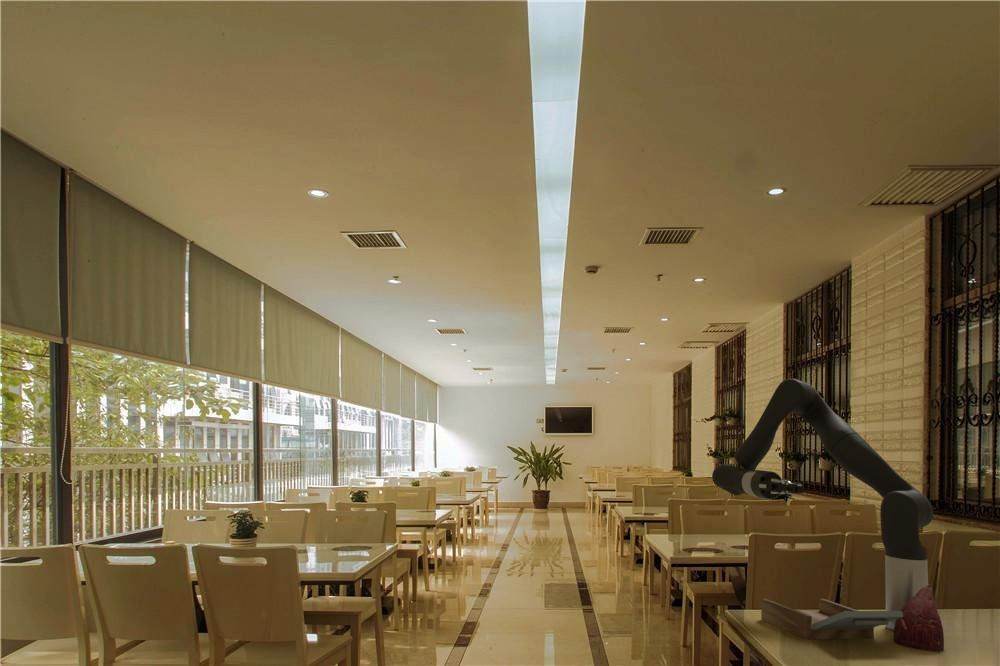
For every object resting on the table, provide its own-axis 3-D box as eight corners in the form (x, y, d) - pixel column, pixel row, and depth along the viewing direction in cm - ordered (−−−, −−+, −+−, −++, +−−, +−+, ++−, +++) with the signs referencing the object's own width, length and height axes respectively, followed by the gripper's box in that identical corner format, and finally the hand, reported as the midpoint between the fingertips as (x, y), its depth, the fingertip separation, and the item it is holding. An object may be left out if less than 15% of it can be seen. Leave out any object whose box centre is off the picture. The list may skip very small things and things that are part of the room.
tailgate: (866, 623, 180) (901, 610, 170) (870, 635, 178) (905, 622, 169) (812, 624, 176) (844, 611, 166) (815, 635, 175) (848, 623, 165)
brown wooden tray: (823, 619, 197) (823, 598, 197) (873, 638, 179) (873, 615, 180) (761, 619, 193) (761, 598, 193) (806, 639, 175) (806, 616, 176)
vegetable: (930, 655, 180) (942, 590, 183) (951, 662, 170) (963, 593, 173) (883, 640, 181) (896, 575, 185) (901, 645, 171) (914, 577, 175)
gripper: (740, 469, 215) (777, 473, 198) (783, 471, 218) (823, 475, 201) (740, 497, 214) (777, 503, 197) (782, 498, 217) (823, 505, 200)
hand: (800, 489), depth 199 cm, fingers closed
